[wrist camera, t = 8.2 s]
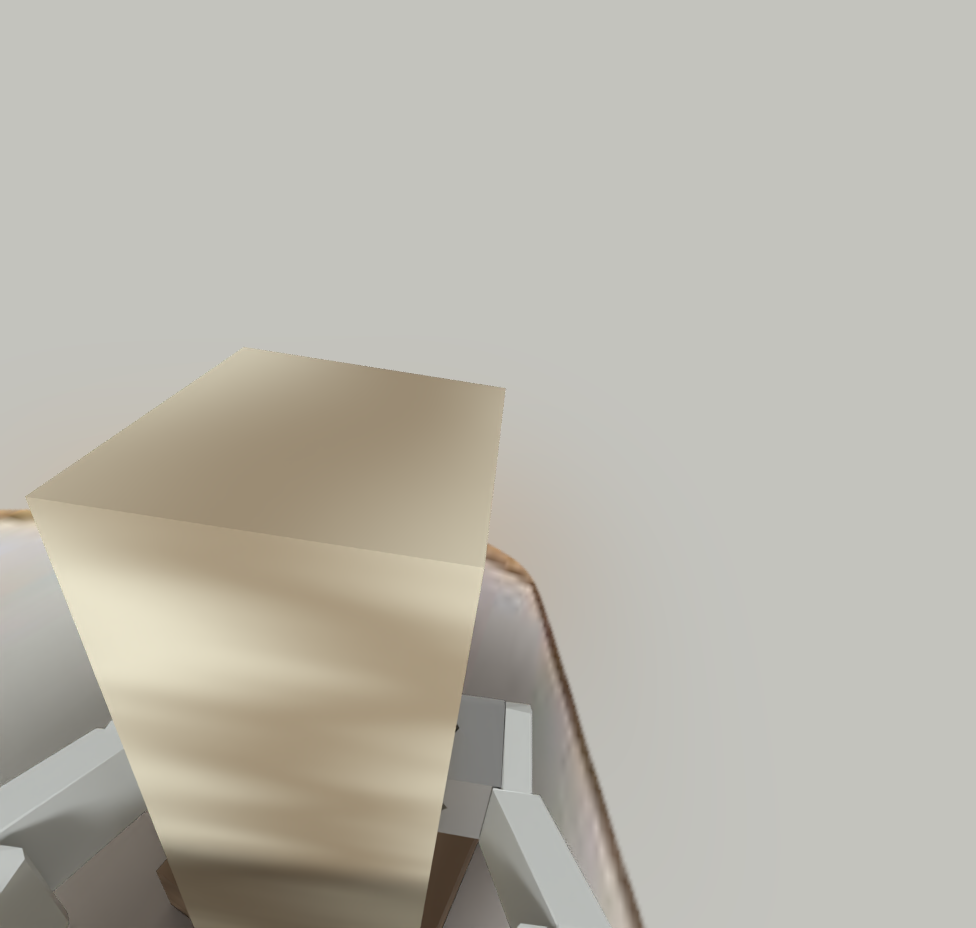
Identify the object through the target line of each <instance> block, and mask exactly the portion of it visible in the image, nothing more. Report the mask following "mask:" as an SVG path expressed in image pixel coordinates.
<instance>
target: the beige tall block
mask: <svg viewBox="0 0 976 928" xmlns="http://www.w3.org/2000/svg"><path fill="white" fill-rule="evenodd" d="M504 397H505V388H500V387H494V386H488V385H482V384H475V383H469V382H463V381H456V380H450V379H444V378H437V377H431V376H424V375H418V374H412V373H405V372H399V371H392V370H386V369H380V368H373V367H367V366H361V365H355V364H348V363H342V362H336V361H329V360H323V359H317V358H310V357H304V356H298V355H291V354H285V353H279V352H272V351H266V350H260V349H253V348H246V347H243V348H242V349H240V350H239V351H237V352H236V353H235V354H233V355H232V356H230V357H229V358H227V359H226V360H224V361H223V362H221V363H220V364H218V365H217V366H216V367H214V368H213V369H211V370H210V371H208V372H207V373H205V374H204V375H202V376H201V377H199V378H198V379H196V380H195V381H194V382H192V383H191V384H189V385H188V386H186V387H185V388H183V389H182V390H181V391H179V392H177V393H176V394H175V395H173V396H172V397H170V398H169V399H167V400H166V401H164V402H163V403H161V404H160V405H159V406H157V407H156V408H154V409H153V410H151V411H150V412H148V413H147V414H145V415H144V416H142V417H141V418H140V419H138V420H137V421H135V422H134V423H132V424H131V425H129V426H128V427H127V428H125V429H123V430H122V431H121V432H119V433H118V434H116V435H115V436H113V437H112V438H110V439H109V440H107V441H106V442H104V443H103V444H101V445H100V446H99V447H97V448H96V449H94V450H93V451H92V452H90V453H89V454H87V455H85V456H84V457H83V458H81V459H80V460H78V461H77V462H75V463H74V464H72V465H71V466H69V467H68V468H66V469H65V470H64V471H62V472H61V473H59V474H58V475H56V476H55V477H54V478H52V479H50V480H49V481H48V482H46V483H45V484H43V485H42V486H40V487H39V488H37V489H36V490H34V491H33V492H31V493H30V494H28V495H27V496H26V500H27V502H28V505H29V507H30V510H31V513H32V515H33V518H34V520H35V523H36V525H37V528H38V530H39V533H40V536H41V538H42V541H43V543H44V546H45V548H46V551H47V553H48V556H49V559H50V561H51V564H52V566H53V569H54V571H55V574H56V576H57V579H58V582H59V584H60V587H61V589H62V592H63V594H64V597H65V599H66V602H67V605H68V607H69V610H70V612H71V615H72V617H73V620H74V622H75V625H76V628H77V630H78V633H79V635H80V638H81V640H82V643H83V645H84V648H85V651H86V653H87V656H88V658H89V661H90V663H91V666H92V668H93V671H94V674H95V676H96V679H97V681H98V684H99V686H100V689H101V691H102V694H103V697H104V699H105V702H106V704H107V707H108V709H109V712H110V714H111V717H112V720H113V722H114V725H115V727H116V730H117V732H118V735H119V737H120V740H121V743H122V745H123V748H124V750H125V753H126V755H127V758H128V760H129V763H130V766H131V768H132V771H133V773H134V776H135V778H136V781H137V783H138V786H139V789H140V791H141V794H142V796H143V799H144V801H145V804H146V806H147V809H148V811H149V814H150V817H151V819H152V822H153V824H154V827H155V829H156V832H157V834H158V837H159V840H160V842H161V845H162V847H163V850H164V852H165V855H166V857H167V860H168V863H169V865H170V868H171V870H172V873H173V875H174V878H175V880H176V883H177V886H178V888H179V891H180V893H181V896H182V898H183V901H184V903H185V906H186V909H187V911H188V914H189V916H190V919H191V921H192V924H193V926H194V928H420V927H421V921H422V916H423V910H424V904H425V899H426V893H427V888H428V882H429V876H430V871H431V865H432V859H433V854H434V848H435V843H436V837H437V831H438V826H439V820H440V814H441V809H442V803H443V798H444V792H445V786H446V781H447V775H448V769H449V764H450V758H451V753H452V747H453V741H454V736H455V730H456V725H457V719H458V713H459V708H460V702H461V696H462V691H463V685H464V680H465V674H466V668H467V663H468V657H469V651H470V646H471V640H472V635H473V629H474V623H475V618H476V612H477V606H478V601H479V595H480V590H481V584H482V578H483V573H484V567H485V558H486V550H487V541H488V533H489V532H488V531H489V524H490V516H491V507H492V498H493V490H494V481H495V473H496V465H497V456H498V448H499V439H500V431H501V423H502V414H503V406H504Z"/></svg>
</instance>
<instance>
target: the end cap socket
mask: <svg viewBox="0 0 976 928" xmlns="http://www.w3.org/2000/svg"><path fill="white" fill-rule="evenodd" d="M478 841H479V839H475V838H469V837H464V836H458V835H453V834H447V833H441V832H437V837H436V843H435V848H434V854H433V859H432V865H431V871H430V876H429V882H428V888H427V893H426V899H425V904H424V910H423V916H422V921H421V927H420V928H443V925H444V923H445V920H446V918H447V916H448V913H449V911H450V908H451V906H452V904H453V901H454V899H455V896H456V894H457V891H458V889H459V887H460V884H461V882H462V879H463V877H464V875H465V872H466V870H467V867H468V865H469V862H470V860H471V858H472V855H473V853H474V850H475V848H476V846H477V843H478ZM156 872H157V874H158V876H159V879H160V881H161V883H162V885H163V887H164V890H165V892H166V894H167V896H168V899H169V901H170V903H171V905H173V906H174V907H175V908H177V909H178V910H179V911H181V912H182V913H183V914H185V915H186V916H187V917H189V918H190V916H189V914H188V911H187V909H186V906H185V903H184V901H183V898H182V896H181V893H180V891H179V888H178V886H177V883H176V880H175V878H174V875H173V873H172V870H171V868H170V865H169V863H168V860H167V859H166V860H165V862H164V863H163V864H162V865H161V866H160V867H159V869H158V870H157V871H156Z"/></svg>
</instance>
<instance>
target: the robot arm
mask: <svg viewBox="0 0 976 928" xmlns="http://www.w3.org/2000/svg"><path fill="white" fill-rule="evenodd" d="M146 810H147V806H146V804H145V801H144V799H143V796H142V794H141V791H140V789H139V786H138V783H137V781H136V778H135V776H134V773H133V771H132V768H131V766H130V763H129V760H128V758H127V755H126V753H125V750H124V748H123V745H122V743H121V740H120V737H119V735H118V732H117V730H116V727H115V725H114V722H113V720H111V721H110V722H109V724H108V725H107V727H106V728H105V729H104V728H95V729H94V730H92V731H91V732H89V733H87V734H86V735H84V736H82V737H81V738H79V739H78V740H76V741H74V742H73V743H71V744H69V745H68V746H66V747H65V748H63V749H61V750H60V751H58V752H56V753H55V754H53V755H51V756H50V757H48V758H47V759H45V760H43V761H42V762H40V763H38V764H37V765H35V766H34V767H32V768H30V769H29V770H27V771H25V772H24V773H22V774H21V775H19V776H17V777H16V778H14V779H12V780H11V781H9V782H8V783H6V784H4V785H3V786H1V787H0V928H67V926H68V924H69V919H68V913H67V911H66V910H65V909H64V907H63V906H62V904H61V903H60V901H59V900H58V899H57V897H56V896H55V894H54V893H53V891H54V890H55V889H56V888H57V887H59V886H60V885H61V884H62V883H63V882H64V881H65V880H67V879H68V878H69V877H70V876H71V875H72V874H74V873H75V872H76V871H77V870H78V869H79V868H80V867H82V866H83V865H84V864H85V863H86V862H87V861H89V860H90V859H91V858H92V857H93V856H94V855H95V854H97V853H98V852H99V851H100V850H101V849H102V848H103V847H105V846H106V845H107V844H108V843H109V842H110V841H112V840H113V839H114V838H115V837H116V836H117V835H118V834H120V833H121V832H122V831H123V830H124V829H125V828H127V827H128V826H129V825H130V824H131V823H132V822H133V821H135V820H136V819H137V818H138V817H139V816H140V815H142V814H143V813H144V812H145V811H146ZM437 832H441V833H447V834H453V835H458V836H464V837H469V838H475V839H479V844H480V847H481V850H482V853H483V855H484V858H485V861H486V863H487V866H488V869H489V871H490V874H491V877H492V879H493V882H494V885H495V888H496V890H497V893H498V896H499V898H500V901H501V904H502V906H503V909H504V912H505V914H506V917H507V920H508V923H509V925H510V928H612V927H611V925H610V923H609V921H608V920H607V918H606V916H605V914H604V912H603V910H602V909H601V907H600V905H599V903H598V901H597V899H596V897H595V896H594V894H593V892H592V890H591V888H590V886H589V885H588V883H587V881H586V879H585V877H584V875H583V873H582V872H581V870H580V868H579V866H578V864H577V862H576V861H575V859H574V857H573V855H572V853H571V851H570V849H569V848H568V846H567V844H566V842H565V840H564V838H563V837H562V835H561V833H560V831H559V829H558V827H557V826H556V824H555V822H554V820H553V818H552V816H551V814H550V813H549V811H548V809H547V807H546V805H545V803H544V802H543V800H542V798H541V796H540V795H537V794H532V709H531V706H530V704H524V703H516V702H509V701H505V702H504V700H500V699H493V698H486V697H478V696H471V695H463V694H462V696H461V702H460V708H459V713H458V719H457V725H456V730H455V736H454V741H453V747H452V753H451V758H450V764H449V769H448V775H447V781H446V786H445V792H444V798H443V803H442V809H441V814H440V820H439V826H438V831H437Z"/></svg>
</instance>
